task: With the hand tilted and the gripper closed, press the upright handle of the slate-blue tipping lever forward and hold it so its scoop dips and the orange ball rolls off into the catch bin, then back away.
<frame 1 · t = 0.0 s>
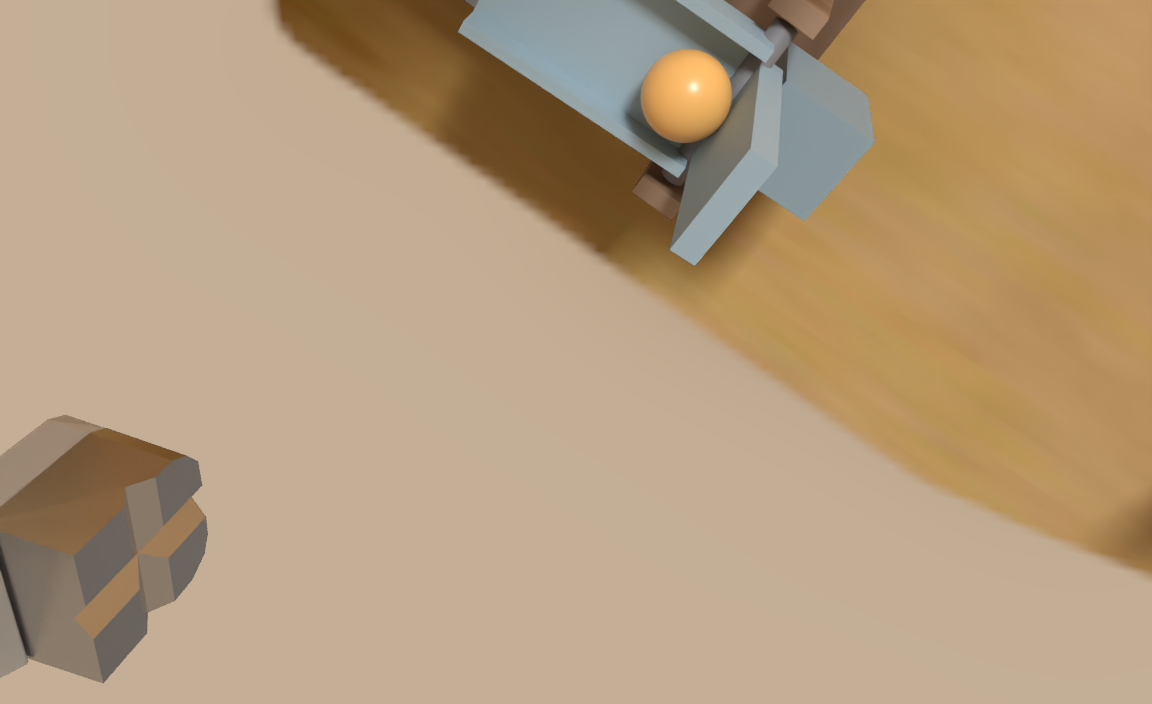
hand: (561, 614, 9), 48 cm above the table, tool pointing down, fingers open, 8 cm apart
tipping lever: (671, 87, 42), point 13 cm above the table, hinge at -6.0°, touching orange ball
orange ball: (686, 96, 42), point 13 cm above the table, tilted 15°, touching tipping lever
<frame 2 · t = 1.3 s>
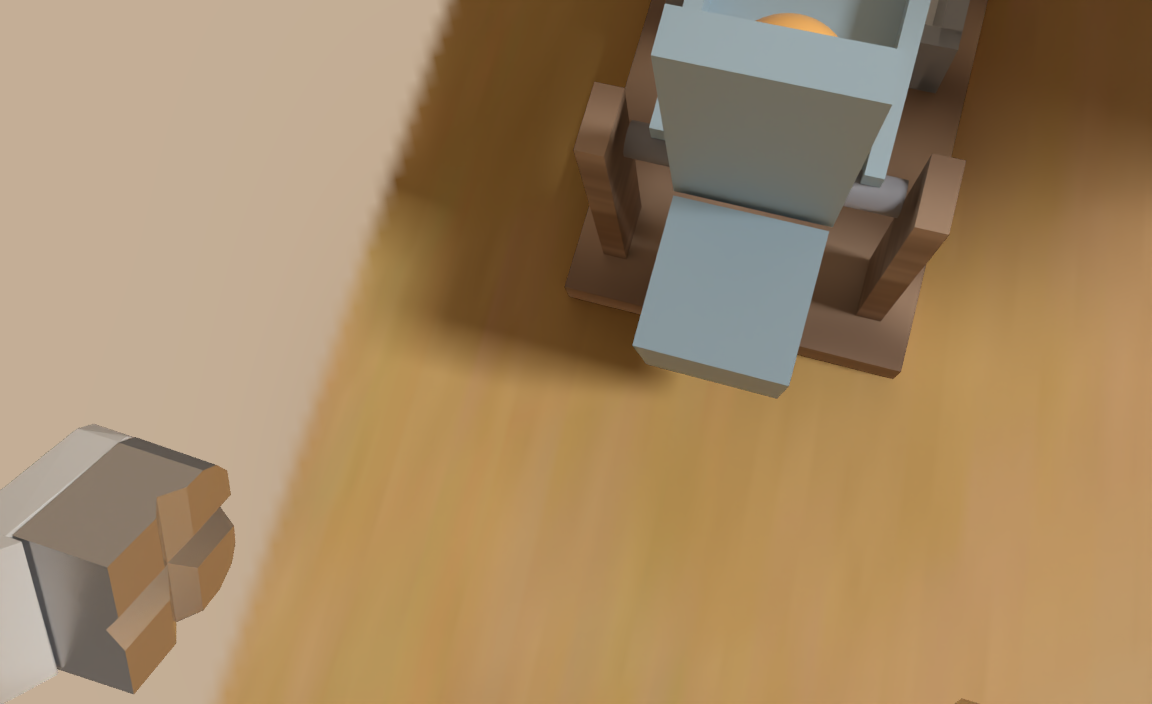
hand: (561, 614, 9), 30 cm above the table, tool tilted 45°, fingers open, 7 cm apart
walnut lever base: (778, 143, 42), on the table
tipping lever: (788, 60, 28), point 13 cm above the table, hinge at -6.0°, touching orange ball
orange ball: (782, 84, 28), point 13 cm above the table, tilted 15°, touching tipping lever
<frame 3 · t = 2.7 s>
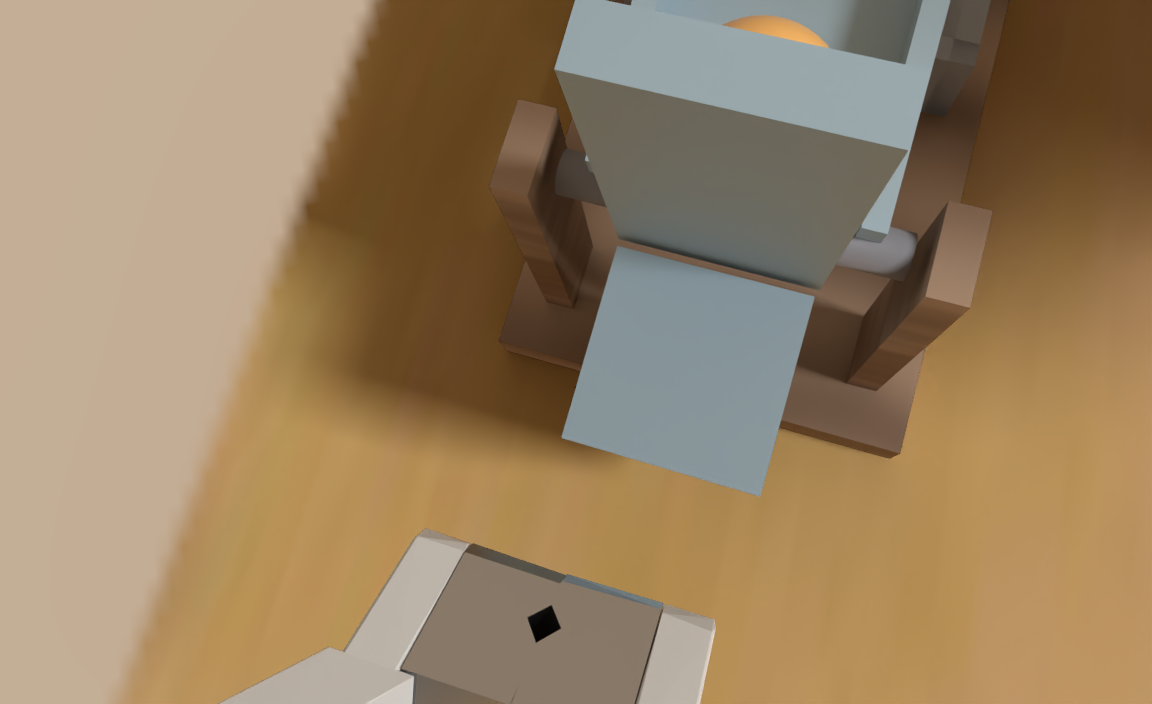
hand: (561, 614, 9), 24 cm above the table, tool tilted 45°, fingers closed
walnut lever base: (757, 172, 35), on the table
tipping lever: (764, 76, 22), point 13 cm above the table, hinge at -6.0°, touching orange ball
orange ball: (756, 107, 22), point 13 cm above the table, tilted 15°, touching tipping lever
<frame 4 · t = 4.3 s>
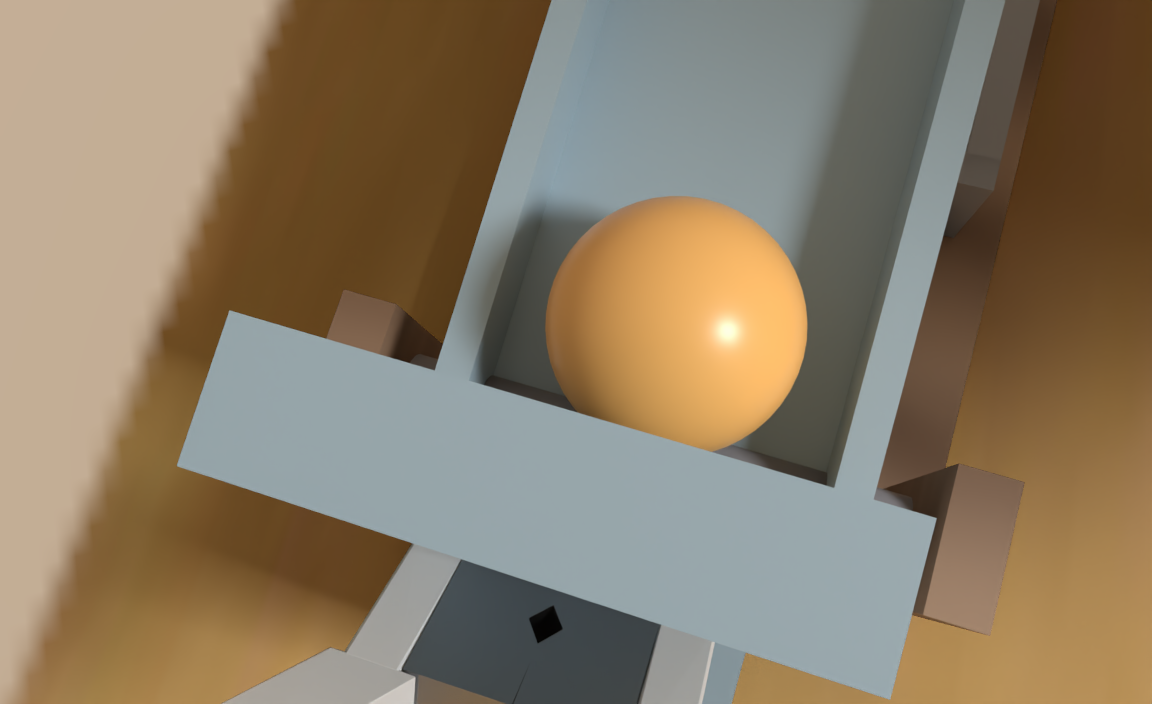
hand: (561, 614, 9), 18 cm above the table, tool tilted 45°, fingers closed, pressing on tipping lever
walnut lever base: (717, 298, 28), on the table
tipping lever: (687, 280, 15), point 13 cm above the table, hinge at -4.0°, touching gripper, orange ball
catch bin: (802, 7, 30), resting on walnut lever base
orange ball: (674, 326, 15), point 13 cm above the table, tilted 13°, touching tipping lever
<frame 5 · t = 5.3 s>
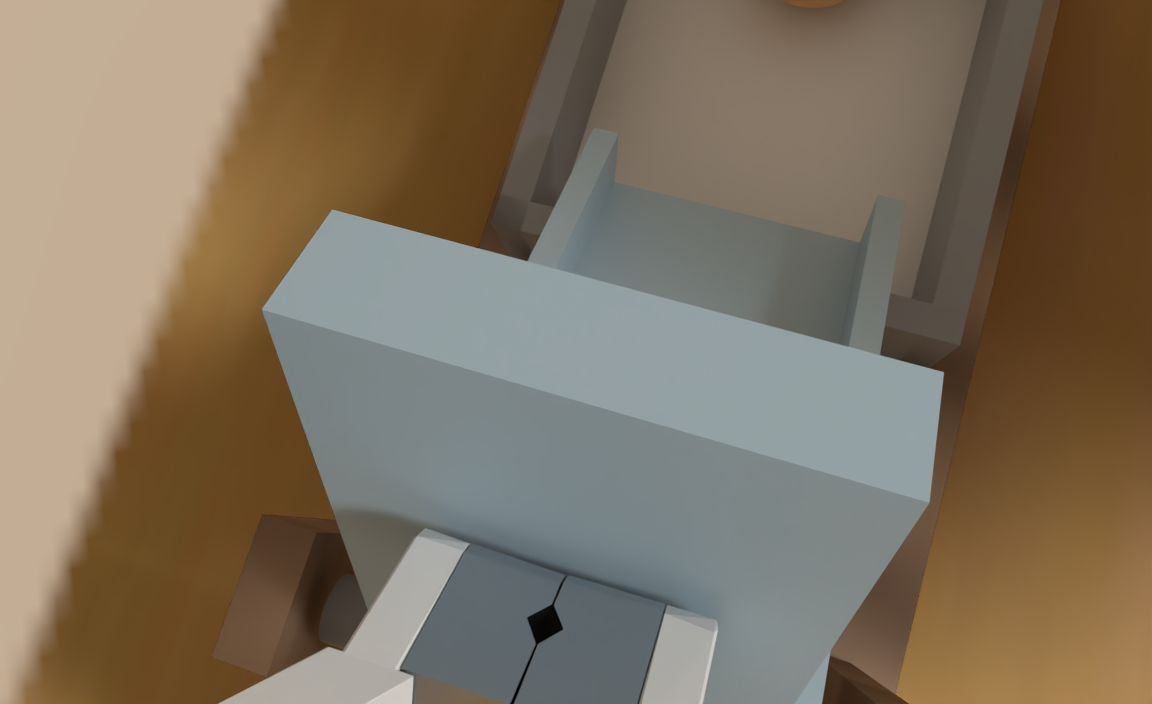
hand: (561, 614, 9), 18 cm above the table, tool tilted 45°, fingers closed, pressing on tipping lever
walnut lever base: (682, 426, 27), on the table
tipping lever: (634, 491, 16), point 12 cm above the table, hinge at 27.4°, touching gripper
catch bin: (771, 118, 29), resting on walnut lever base
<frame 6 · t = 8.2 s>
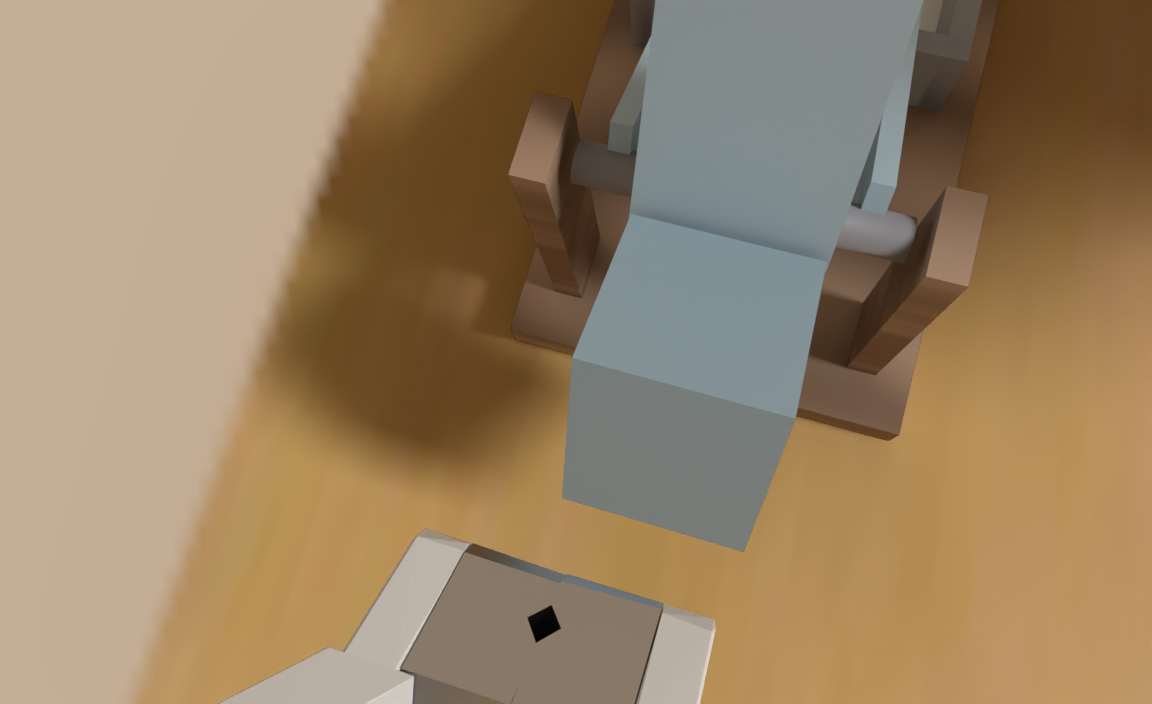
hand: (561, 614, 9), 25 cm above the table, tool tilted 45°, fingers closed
walnut lever base: (758, 166, 36), on the table
tipping lever: (772, 75, 25), point 11 cm above the table, hinge at 27.7°
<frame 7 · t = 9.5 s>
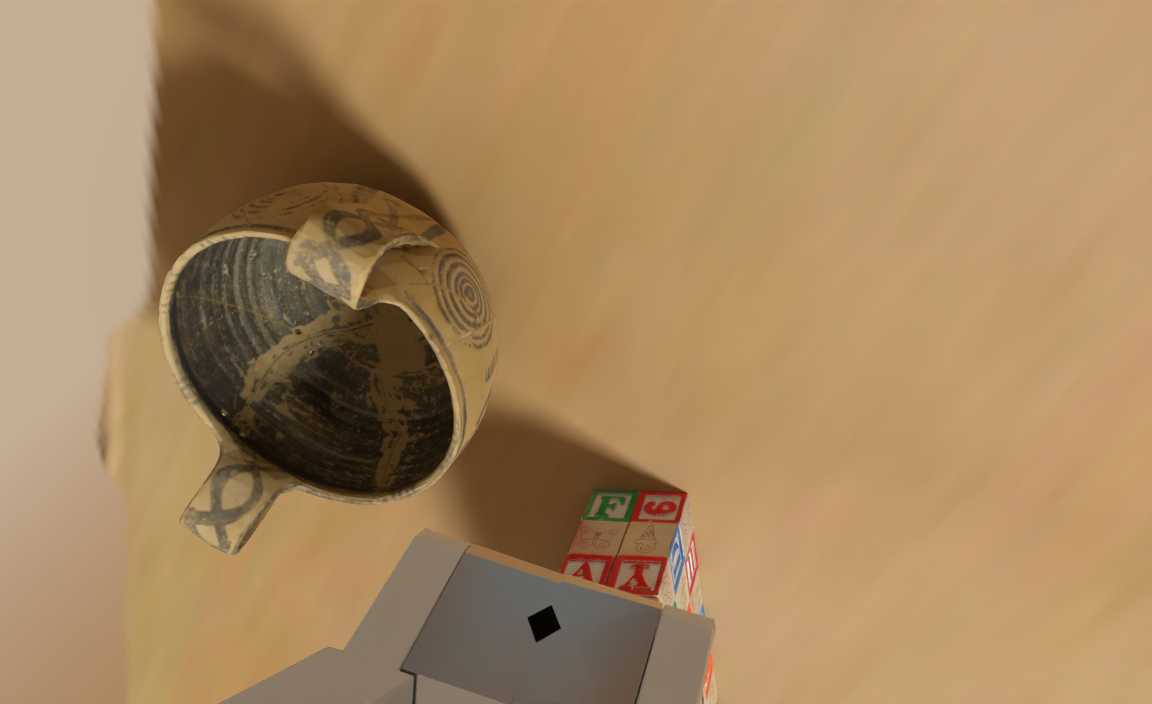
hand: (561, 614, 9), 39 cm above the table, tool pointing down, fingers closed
stack of blocks: (662, 612, 64), on the table
ceramic bowl: (400, 279, 56), on the table
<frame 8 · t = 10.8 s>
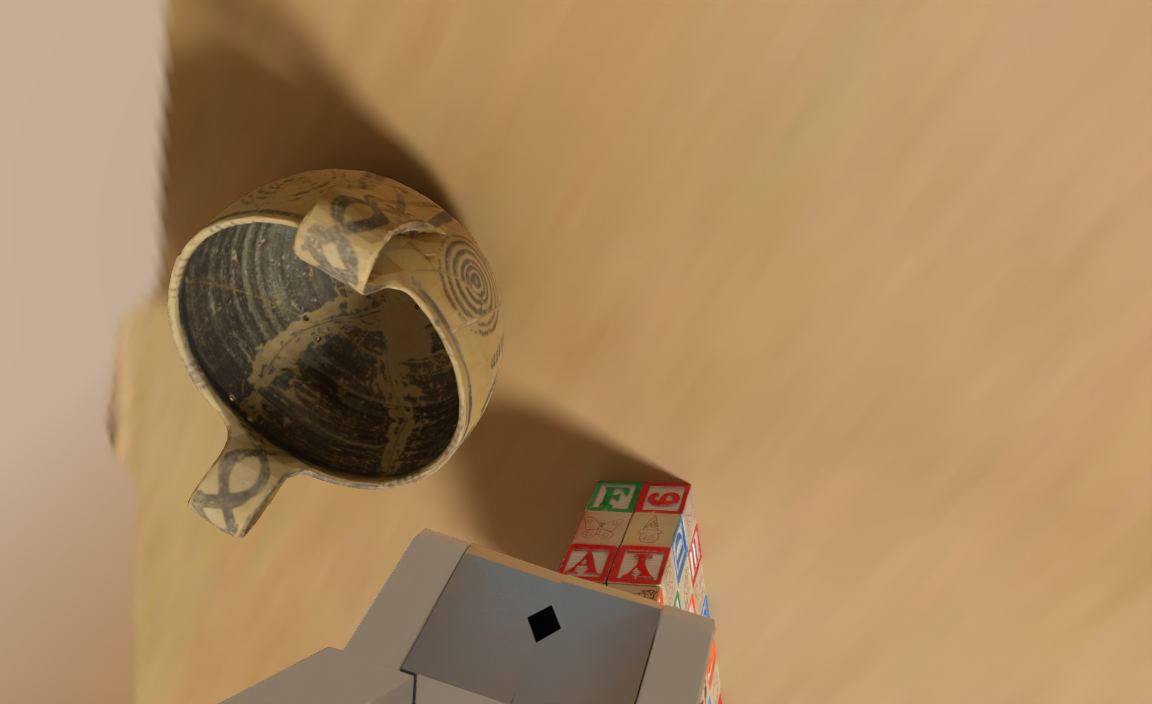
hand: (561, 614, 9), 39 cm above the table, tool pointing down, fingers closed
stack of blocks: (666, 602, 65), on the table
ceramic bowl: (407, 266, 56), on the table
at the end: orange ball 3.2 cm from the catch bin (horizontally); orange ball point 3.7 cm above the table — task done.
